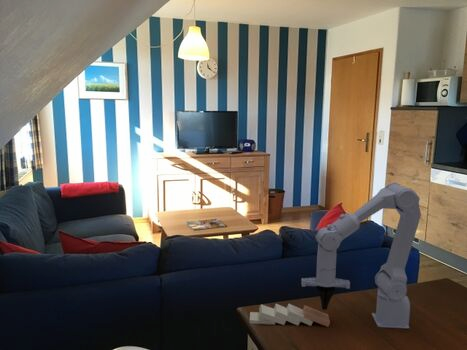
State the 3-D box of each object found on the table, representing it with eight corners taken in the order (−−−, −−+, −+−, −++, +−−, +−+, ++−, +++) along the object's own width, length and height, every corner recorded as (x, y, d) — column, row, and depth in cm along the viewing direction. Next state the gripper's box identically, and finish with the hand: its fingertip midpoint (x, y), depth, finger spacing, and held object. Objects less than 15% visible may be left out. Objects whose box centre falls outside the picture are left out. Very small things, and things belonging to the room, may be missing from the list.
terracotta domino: (328, 327, 124) (303, 317, 124) (326, 318, 129) (302, 309, 129) (330, 322, 124) (305, 312, 124) (328, 314, 128) (304, 305, 129)
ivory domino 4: (311, 313, 129) (288, 303, 129) (313, 321, 124) (289, 311, 124) (309, 317, 129) (286, 307, 129) (310, 325, 124) (287, 315, 124)
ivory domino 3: (298, 313, 129) (276, 303, 129) (300, 321, 124) (276, 311, 124) (296, 317, 129) (274, 307, 129) (298, 325, 125) (274, 315, 125)
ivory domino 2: (284, 312, 129) (260, 304, 129) (285, 320, 124) (261, 312, 124) (282, 316, 130) (259, 308, 129) (284, 325, 125) (260, 317, 124)
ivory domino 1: (274, 313, 130) (250, 311, 131) (275, 321, 125) (249, 320, 126) (274, 317, 130) (250, 316, 131) (275, 326, 125) (249, 324, 126)
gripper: (347, 262, 127) (345, 303, 129) (301, 261, 128) (299, 300, 130) (352, 272, 120) (349, 314, 122) (303, 269, 121) (301, 311, 123)
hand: (324, 308), depth 126 cm, fingers closed
